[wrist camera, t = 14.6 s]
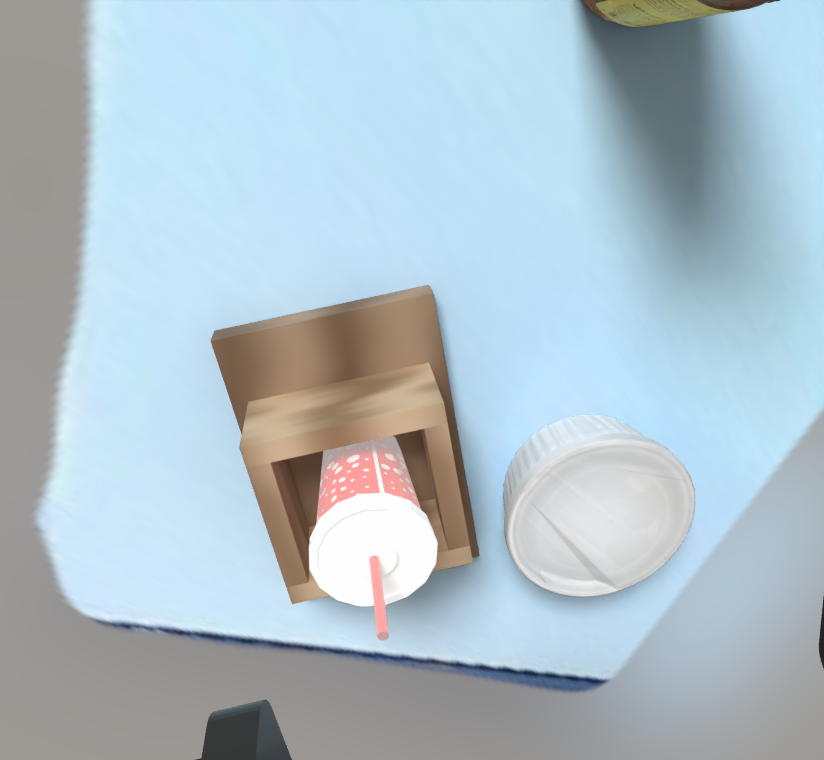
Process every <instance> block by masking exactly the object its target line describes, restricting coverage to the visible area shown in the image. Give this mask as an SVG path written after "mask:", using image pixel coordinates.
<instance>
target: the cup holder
mask: <svg viewBox="0 0 824 760" xmlns="http://www.w3.org/2000/svg"><path fill="white" fill-rule="evenodd" d="M211 343H212V346H213V349H214V352H215V355H216V358H217V361H218V364H219V367H220V370H221V373H222V377H223V380H224V383H225V386H226V389H227V392H228V395H229V398H230V401H231V404H232V407H233V410H234V413H235V416H236V419H237V422H238V425H239V428H240V431H241V434H242V437H241V442H240V447H239V448H240V451H241V454H242V457H243V460H244V463H245V466H246V468H247V471H248V474H249V477H250V480H251V483H252V486H253V489H254V492H255V495H256V498H257V501H258V504H259V507H260V510H261V513H262V516H263V519H264V522H265V525H266V528H267V531H268V534H269V537H270V540H271V543H272V546H273V549H274V552H275V555H276V558H277V561H278V564H279V567H280V570H281V573H282V576H283V579H284V581H285V584H286V587H287V590H288V593H289V596H290V599H291V602H292V604H295V603H299V602H304V601H308V600H312V599H317V598H321V597H325V596H330V595H329V594H328V593H326V592H325V591H324V590H322V589H321V588H319V586H318V584H317V582H316V580H315V579H314V577H313V575H312V573H311V571H310V570H309V544H310V536H311V534H312V532H313V530H314V528H315V526H316V521H317V511H318V500H319V490H320V480H321V470H322V459H323V451H325V450H330V449H335V448H339V447H344V446H348V445H353V444H357V443H362V442H366V441H371V440H375V439H380V438H384V437H389V436H394V437H395V438H396V440H397V442H398V445H399V447H400V449H401V452H402V455H403V458H404V461H405V464H406V467H407V470H408V472H409V475H410V478H411V481H412V484H413V487H414V490H415V493H416V496H417V499H418V502H419V505H420V508H421V510H422V511H423V512H424V513H425V514H426V515H427V517H428V519H429V522H430V524H431V526H432V529H433V531H434V534H435V537H436V539H437V543H438V545H437V559H436V565H435V566H434V568H433V570H432V572H435V571H439V570H443V569H448V568H452V567H456V566H461V565H465V564H470V563H473V560H472V558H473V557H477V556H479V551H478V545H477V539H476V534H475V528H474V522H473V517H472V511H471V505H470V499H469V494H468V488H467V482H466V477H465V471H464V465H463V460H462V454H461V448H460V443H459V437H458V431H457V425H456V420H455V414H454V408H453V403H452V397H451V391H450V386H449V380H448V374H447V369H446V363H445V357H444V351H443V346H442V340H441V334H440V329H439V323H438V317H437V312H436V306H435V300H434V294H433V292H432V290H431V288H430V286H429V285H427V286H422V287H417V288H413V289H408V290H403V291H399V292H394V293H389V294H385V295H380V296H375V297H371V298H366V299H361V300H357V301H352V302H347V303H343V304H338V305H333V306H329V307H324V308H319V309H315V310H310V311H305V312H301V313H296V314H291V315H286V316H282V317H277V318H272V319H268V320H263V321H258V322H254V323H249V324H244V325H240V326H235V327H230V328H226V329H221V330H216V331H214V333H213V336H212V339H211Z"/></svg>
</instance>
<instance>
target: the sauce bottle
mask: <svg viewBox="0 0 824 760" xmlns="http://www.w3.org/2000/svg"><path fill="white" fill-rule="evenodd" d="M774 1H780V0H585V3H586V5H587V6H588V7H589V8H590V9H591V10H592V11H593V12H594V13H595V14H596V15H598V16H600V17H601V18H603V19H604V20H608V21H612V22H614V23H617V24H621V25H625V26H629V27H642V26H651V25H658V24H663V23H669V22H676V21H681V20H686V19H692V18H698V17H703V16H709V15H716V14H722V13H728V12H734V11H740V10H746V9H750V8H753V7H756V6H760V5H762V4H764V3H766V2H767V3H771V2H774Z"/></svg>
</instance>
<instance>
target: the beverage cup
mask: <svg viewBox="0 0 824 760" xmlns="http://www.w3.org/2000/svg"><path fill="white" fill-rule="evenodd" d="M437 545H438V543H437V539H436V537H435V534H434V531H433V529H432V526H431V524H430V522H429V519H428V517H427V515H426V514H425V513H424V512H423V511H422V510H421V508H420V505H419V502H418V499H417V496H416V493H415V490H414V487H413V484H412V481H411V478H410V475H409V472H408V470H407V467H406V464H405V461H404V458H403V455H402V452H401V449H400V447H399V445H398V442H397V440H396V438H395V437H394V436H389V437H384V438H380V439H375V440H371V441H366V442H362V443H357V444H353V445H348V446H344V447H339V448H335V449H330V450H325V451H323V459H322V470H321V480H320V490H319V500H318V511H317V521H316V526H315V528H314V530H313V532H312V534H311V536H310V544H309V570H310V571H311V573H312V575H313V577H314V579H315V580H316V582H317V584H318V586H319V588H321V589H322V590H324V591H325V592H326V593H328V594H329V595H331V596H332V597H333V598H335V599H336V600H338V601H341V602H345V603H349V604H352V605H356V606H360V607H362V606H374V610H375V619H376V628H377V637H378V639H379V640H386V639H387V638H388V637H389V632H388V624H387V616H386V608H385V605H387V604H389V603H392V602H395V601H397V600H400V599H403V598H405V597H408V596H409V595H410V594H412V593H413V592H414V591H415V590H416V589H418V588H419V587H420V586H421V585H423V584H424V583H425V582H426V581H427V579H428V577H429V575H430V573H431V572H432V570H433V568H434V566H435V565H436V559H437Z"/></svg>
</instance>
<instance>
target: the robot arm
mask: <svg viewBox="0 0 824 760" xmlns="http://www.w3.org/2000/svg"><path fill="white" fill-rule="evenodd" d="M819 653H820V658H821V662H822V665H823V668H824V599H823V608H822V619H821V628H820V639H819ZM197 760H292V759H291V757H290V754H289V751H288V749H287V746H286V744H285V741H284V739H283V736H282V733H281V731H280V728H279V726H278V723H277V720H276V718H275V715H274V712H273V710H272V707H271V705H270V703H269V702H268V701H267V700H262V701H257V702H253V703H249V704H245V705H240V706H236V707H232V708H227V709H223V710H219V711H215V712H212V713H211V715H210V717H209V719H208V723H207V728H206V734H205V740H204V746H203V752H202V758H201V759H197Z"/></svg>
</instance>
